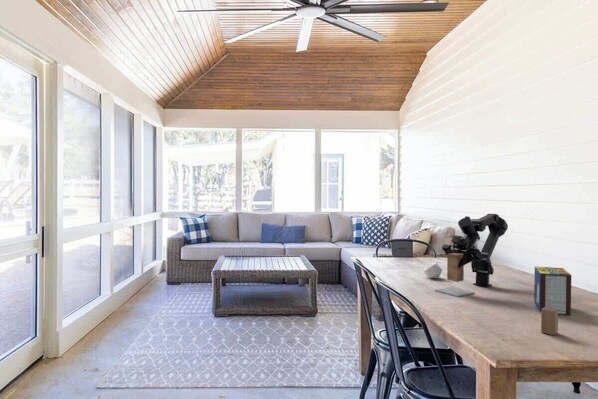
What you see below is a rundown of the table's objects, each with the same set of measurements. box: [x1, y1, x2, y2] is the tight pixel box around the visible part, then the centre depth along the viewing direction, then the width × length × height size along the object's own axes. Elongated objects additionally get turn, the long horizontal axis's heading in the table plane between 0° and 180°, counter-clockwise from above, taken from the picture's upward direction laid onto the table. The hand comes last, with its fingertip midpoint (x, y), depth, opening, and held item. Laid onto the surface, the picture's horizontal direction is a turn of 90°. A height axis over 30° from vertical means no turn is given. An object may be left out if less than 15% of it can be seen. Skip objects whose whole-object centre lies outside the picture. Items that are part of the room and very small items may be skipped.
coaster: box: [435, 286, 476, 298], centre depth 182 cm, size 12×12×1 cm
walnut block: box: [446, 253, 465, 283], centre depth 181 cm, size 5×5×12 cm
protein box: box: [533, 265, 572, 316], centre depth 157 cm, size 10×15×16 cm
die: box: [423, 262, 443, 279], centre depth 212 cm, size 8×9×10 cm
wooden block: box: [540, 307, 559, 336], centre depth 130 cm, size 4×4×8 cm
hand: (453, 266), depth 181 cm, fingers closed on walnut block, 5 cm apart
